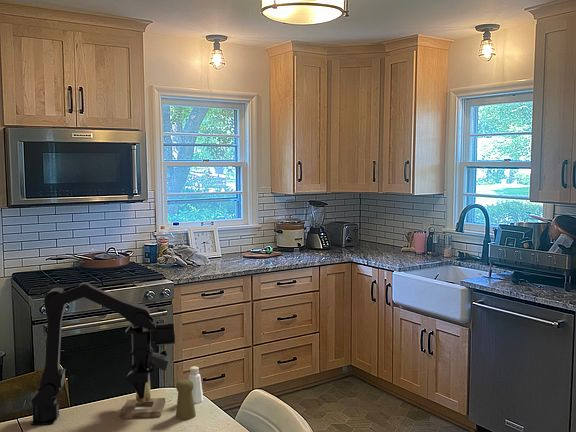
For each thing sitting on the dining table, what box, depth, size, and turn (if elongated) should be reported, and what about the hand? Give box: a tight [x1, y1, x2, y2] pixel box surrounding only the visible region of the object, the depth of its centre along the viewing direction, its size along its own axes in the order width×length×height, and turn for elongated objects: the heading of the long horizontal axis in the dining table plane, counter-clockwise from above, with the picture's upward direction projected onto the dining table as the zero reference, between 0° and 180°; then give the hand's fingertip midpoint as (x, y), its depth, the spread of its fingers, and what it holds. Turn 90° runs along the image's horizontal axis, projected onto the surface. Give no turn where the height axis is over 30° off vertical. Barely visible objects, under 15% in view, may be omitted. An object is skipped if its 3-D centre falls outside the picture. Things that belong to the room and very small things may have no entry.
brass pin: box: [135, 379, 152, 402], centre depth 179 cm, size 4×4×6 cm
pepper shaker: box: [175, 378, 197, 421], centre depth 175 cm, size 6×6×11 cm
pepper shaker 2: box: [188, 365, 204, 405], centre depth 187 cm, size 5×5×11 cm
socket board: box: [120, 397, 166, 419], centre depth 180 cm, size 12×11×2 cm
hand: (143, 395), depth 179 cm, fingers closed on brass pin, 4 cm apart
